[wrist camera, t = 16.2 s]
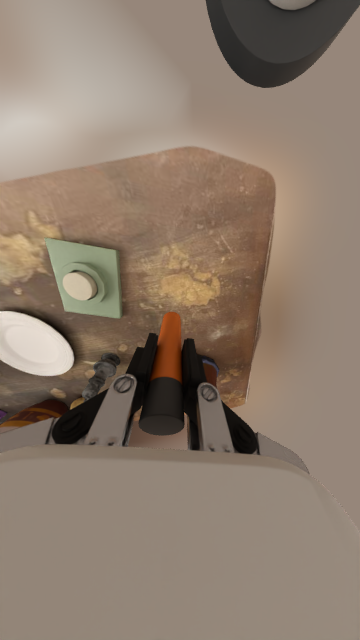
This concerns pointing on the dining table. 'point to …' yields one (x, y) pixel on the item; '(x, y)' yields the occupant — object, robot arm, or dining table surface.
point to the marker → (165, 383)
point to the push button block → (94, 263)
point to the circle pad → (80, 285)
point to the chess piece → (101, 374)
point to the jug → (35, 414)
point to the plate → (33, 345)
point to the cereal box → (2, 413)
